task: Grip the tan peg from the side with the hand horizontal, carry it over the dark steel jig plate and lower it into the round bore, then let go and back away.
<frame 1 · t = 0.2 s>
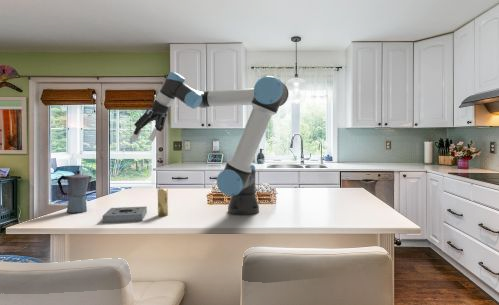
hand: (142, 140, 155), 35 cm above the table, tool tilted 35°, fingers open, 13 cm apart
tan peg: (162, 215, 148), on the table
jig: (126, 217, 144), on the table
moka pot: (76, 212, 155), on the table
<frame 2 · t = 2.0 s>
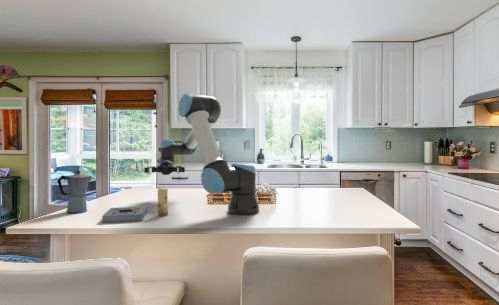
hand: (163, 171, 157), 19 cm above the table, tool horizontal, fingers open, 13 cm apart
nothing on the table moved.
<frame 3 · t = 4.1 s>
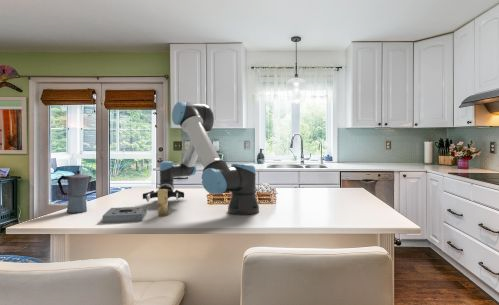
hand: (162, 198, 153), 7 cm above the table, tool horizontal, fingers open, 13 cm apart
nothing on the table moved.
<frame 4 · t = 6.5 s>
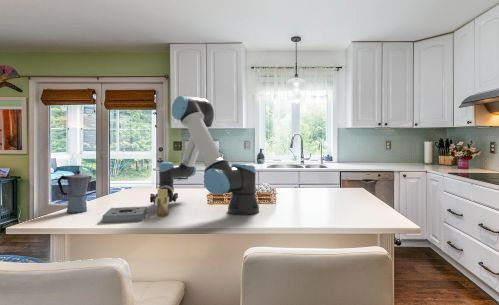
hand: (161, 202, 142), 7 cm above the table, tool horizontal, fingers closed on tan peg, 4 cm apart
tan peg: (162, 215, 148), on the table, touching gripper
everything else where it was.
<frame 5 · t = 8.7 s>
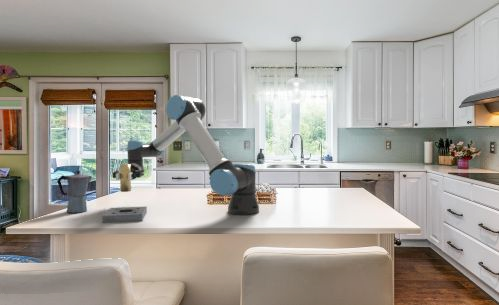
hand: (123, 176, 138), 19 cm above the table, tool horizontal, fingers closed on tan peg, 4 cm apart
tan peg: (125, 191, 143), point 12 cm above the table, touching gripper
everything else where it was.
when the fingers open (9 cm above the table, at t = 11.2 s): tan peg drops 2 cm, resting in jig.
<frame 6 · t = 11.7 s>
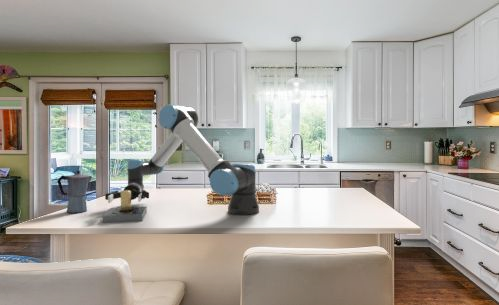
hand: (124, 199, 140), 9 cm above the table, tool horizontal, fingers open, 12 cm apart
tan peg: (126, 217, 144), resting in jig
everything else where it was.
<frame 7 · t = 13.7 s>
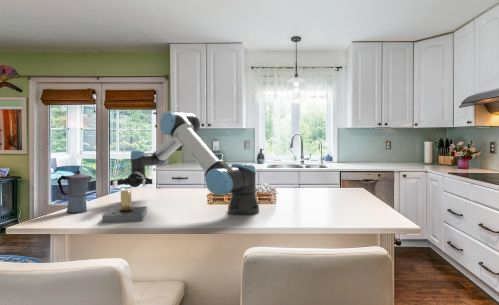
hand: (128, 184, 153), 14 cm above the table, tool horizontal, fingers open, 13 cm apart
nothing on the table moved.
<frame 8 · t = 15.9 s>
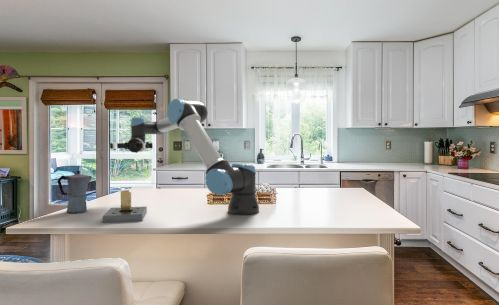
hand: (128, 146, 152), 32 cm above the table, tool horizontal, fingers open, 13 cm apart
nothing on the table moved.
at the end: tan peg 0.1 cm off-centre on the jig, point 0.0 cm above the jig's base; tan peg tilted 1°; the gripper is holding nothing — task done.
